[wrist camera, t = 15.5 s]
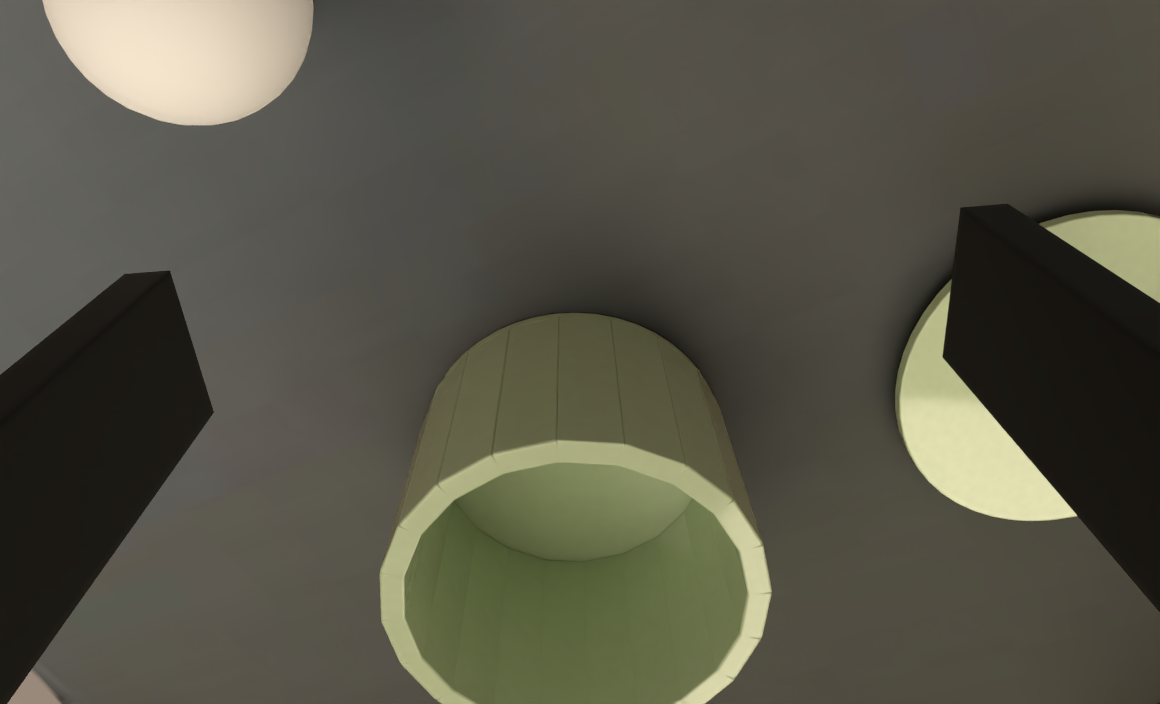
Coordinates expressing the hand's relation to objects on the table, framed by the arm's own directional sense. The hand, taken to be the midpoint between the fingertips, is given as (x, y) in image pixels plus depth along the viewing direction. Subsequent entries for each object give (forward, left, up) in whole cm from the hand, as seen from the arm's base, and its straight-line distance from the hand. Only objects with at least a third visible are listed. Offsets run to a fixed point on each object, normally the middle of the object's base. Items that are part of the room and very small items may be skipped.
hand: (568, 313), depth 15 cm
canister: (+14, -3, -18) cm, 22 cm away
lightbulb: (-6, -8, -18) cm, 21 cm away
